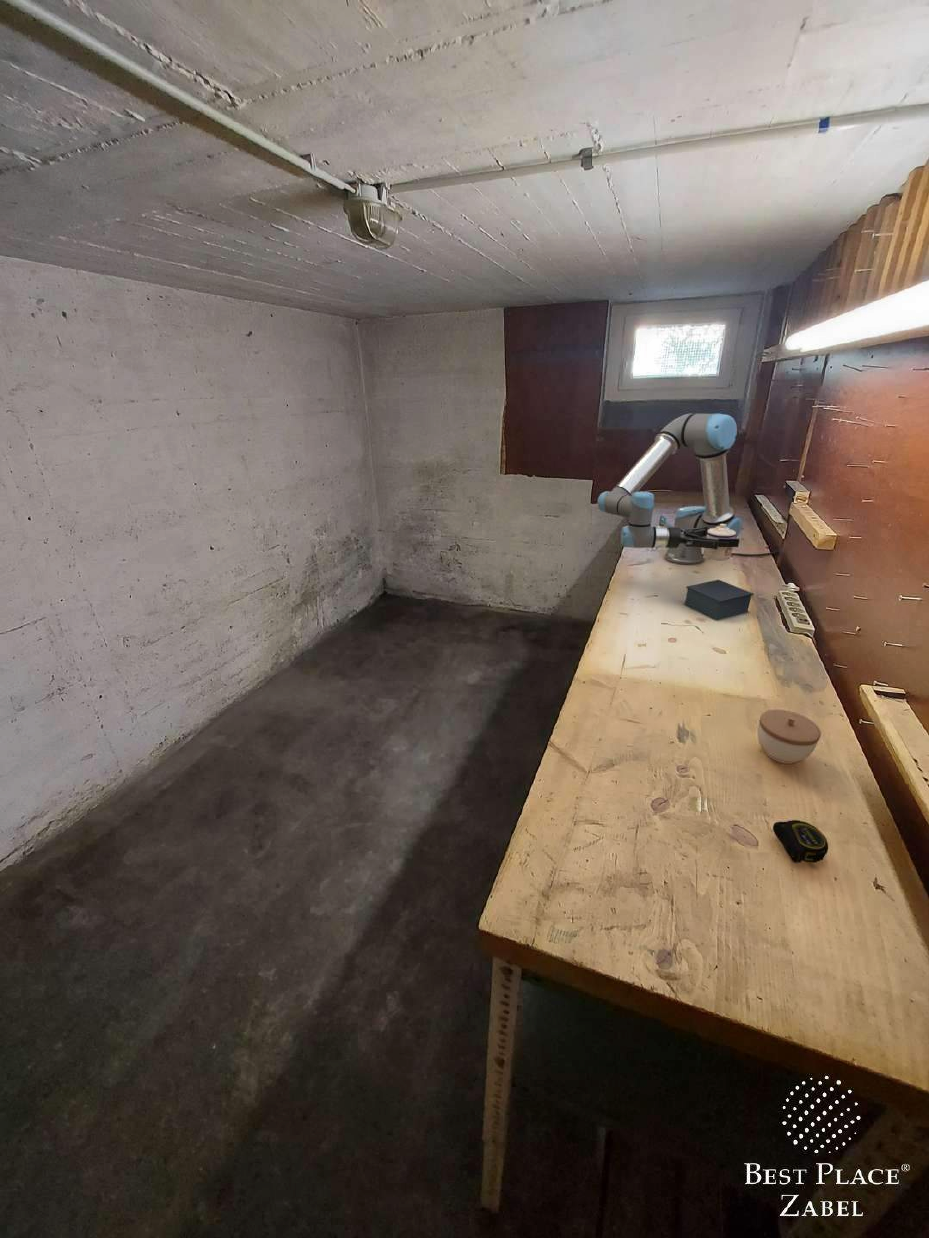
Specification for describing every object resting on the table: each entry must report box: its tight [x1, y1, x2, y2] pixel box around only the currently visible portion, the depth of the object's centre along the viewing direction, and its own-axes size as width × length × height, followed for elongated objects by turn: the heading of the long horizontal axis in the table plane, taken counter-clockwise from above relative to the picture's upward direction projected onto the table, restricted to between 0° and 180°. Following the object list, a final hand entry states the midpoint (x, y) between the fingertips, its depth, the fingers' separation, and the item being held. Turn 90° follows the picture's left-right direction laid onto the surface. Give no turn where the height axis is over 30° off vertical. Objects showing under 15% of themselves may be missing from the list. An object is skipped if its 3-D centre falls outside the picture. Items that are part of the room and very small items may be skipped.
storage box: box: [684, 579, 754, 621], centre depth 167 cm, size 15×15×7 cm
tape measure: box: [772, 819, 829, 864], centre depth 82 cm, size 7×7×4 cm
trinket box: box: [757, 709, 822, 765], centre depth 101 cm, size 11×11×9 cm
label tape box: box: [658, 514, 674, 528], centre depth 238 cm, size 9×4×12 cm, turn 179°
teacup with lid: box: [703, 524, 736, 561], centre depth 169 cm, size 12×9×12 cm
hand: (732, 538), depth 168 cm, fingers closed on teacup with lid, 11 cm apart
